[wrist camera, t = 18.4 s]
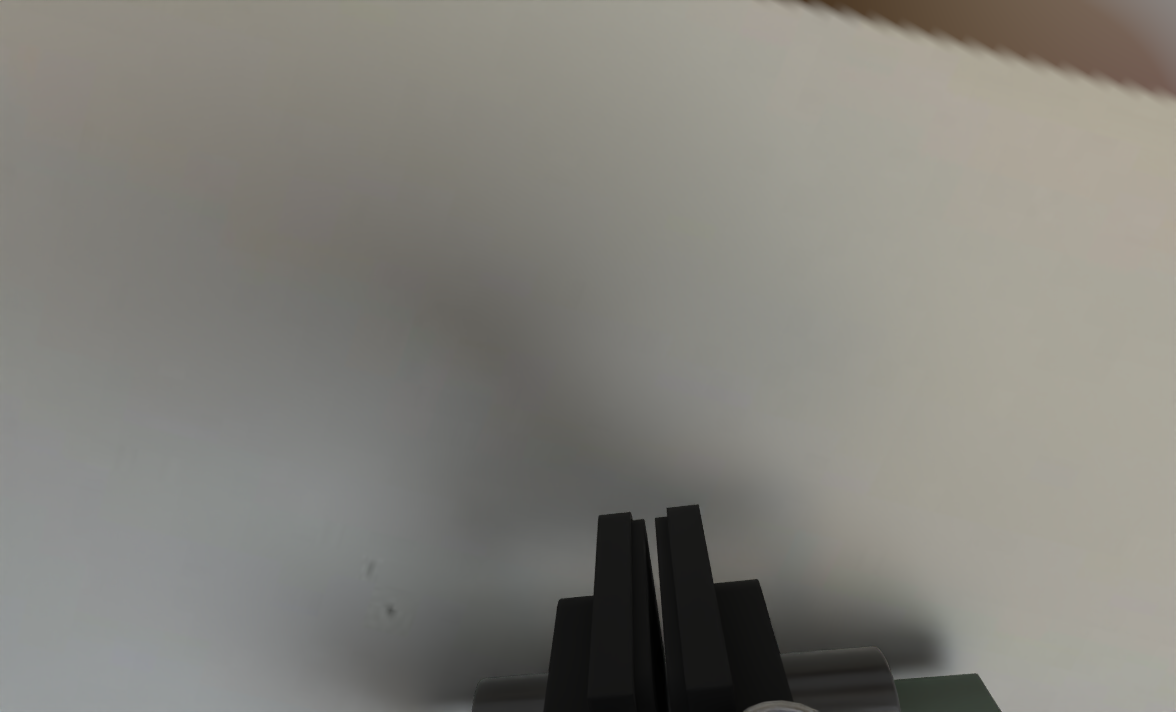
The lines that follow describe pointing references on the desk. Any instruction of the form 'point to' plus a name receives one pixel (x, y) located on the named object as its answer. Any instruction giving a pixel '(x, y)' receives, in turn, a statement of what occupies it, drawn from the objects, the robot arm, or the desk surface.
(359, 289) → the desk surface
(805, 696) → the drawer
